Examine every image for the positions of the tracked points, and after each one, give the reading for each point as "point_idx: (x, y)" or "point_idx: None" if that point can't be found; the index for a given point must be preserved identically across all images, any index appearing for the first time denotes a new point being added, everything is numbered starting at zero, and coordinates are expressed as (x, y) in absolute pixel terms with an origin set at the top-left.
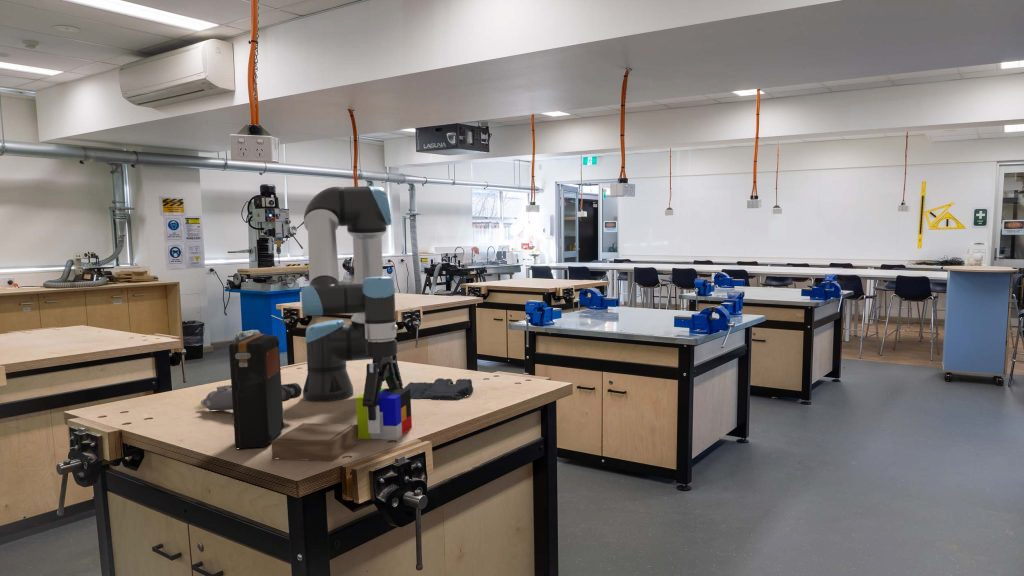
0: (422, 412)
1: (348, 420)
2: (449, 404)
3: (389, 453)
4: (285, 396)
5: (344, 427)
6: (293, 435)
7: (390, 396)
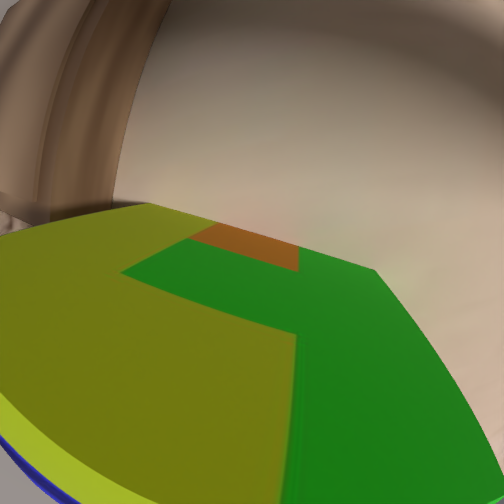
0: (478, 418)
1: (497, 110)
2: (494, 448)
3: None
4: None
5: (7, 177)
6: (6, 30)
7: (55, 498)
